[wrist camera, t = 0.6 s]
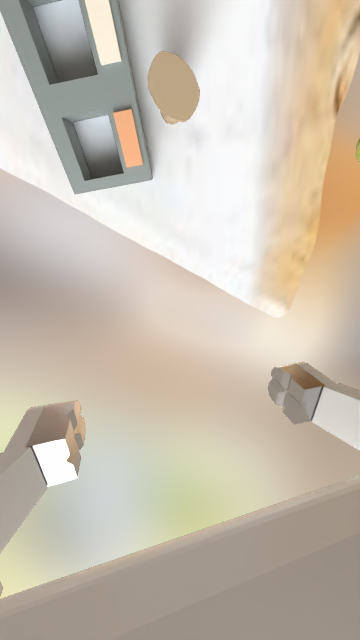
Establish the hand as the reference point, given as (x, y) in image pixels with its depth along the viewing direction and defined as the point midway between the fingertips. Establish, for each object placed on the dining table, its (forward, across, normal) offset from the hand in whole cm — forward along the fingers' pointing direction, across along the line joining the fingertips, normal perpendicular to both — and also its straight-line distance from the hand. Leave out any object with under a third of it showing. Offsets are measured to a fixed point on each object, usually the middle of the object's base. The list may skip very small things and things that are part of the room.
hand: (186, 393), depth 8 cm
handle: (+41, -8, -26) cm, 49 cm away
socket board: (+43, +5, -27) cm, 51 cm away
